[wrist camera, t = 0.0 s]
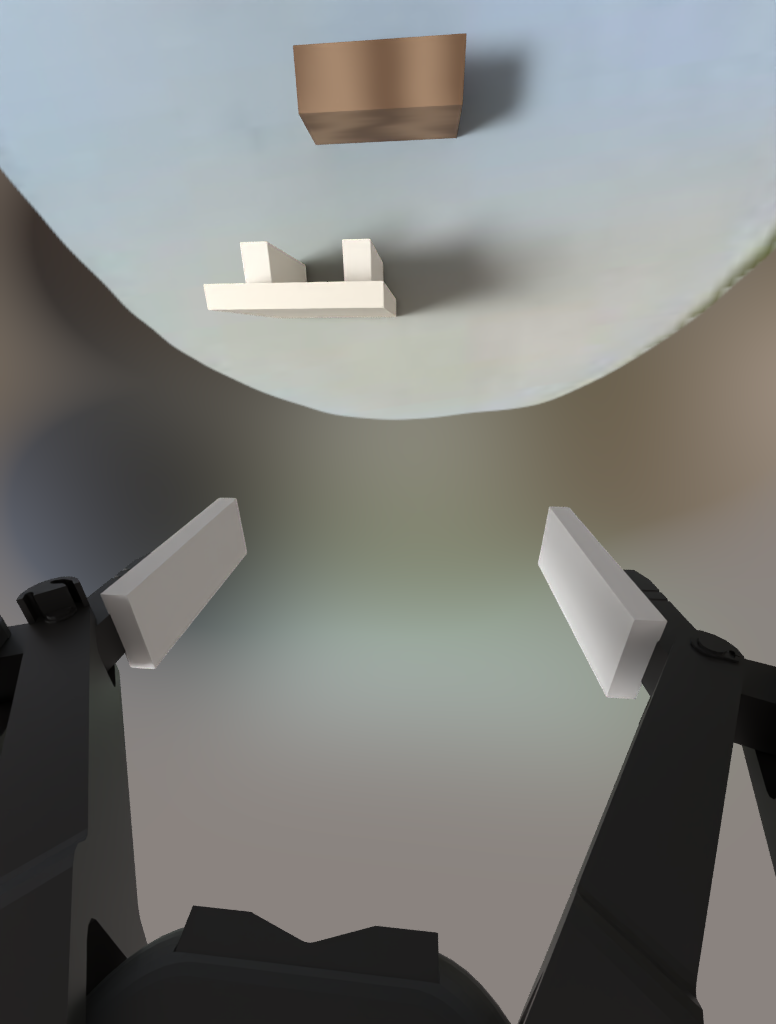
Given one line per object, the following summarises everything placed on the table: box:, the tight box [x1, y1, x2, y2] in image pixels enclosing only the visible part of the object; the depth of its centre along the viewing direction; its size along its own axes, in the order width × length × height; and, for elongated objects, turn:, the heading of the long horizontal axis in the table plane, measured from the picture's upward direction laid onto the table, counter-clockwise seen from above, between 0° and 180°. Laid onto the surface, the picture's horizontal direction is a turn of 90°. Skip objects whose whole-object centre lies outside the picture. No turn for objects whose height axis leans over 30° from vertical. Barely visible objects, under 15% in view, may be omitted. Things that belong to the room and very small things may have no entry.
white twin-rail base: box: [203, 239, 396, 318], centre depth 30 cm, size 4×12×14 cm, turn 90°
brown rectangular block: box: [293, 34, 466, 145], centre depth 29 cm, size 12×4×5 cm, turn 91°
